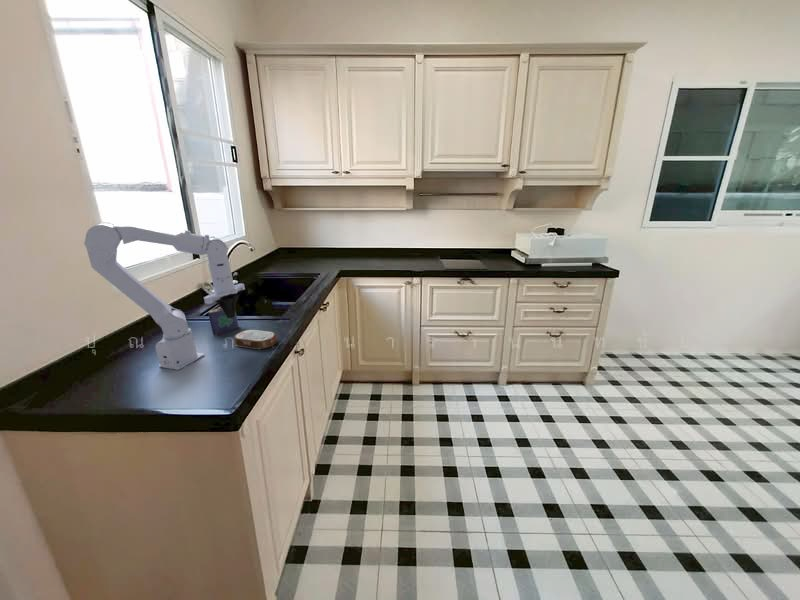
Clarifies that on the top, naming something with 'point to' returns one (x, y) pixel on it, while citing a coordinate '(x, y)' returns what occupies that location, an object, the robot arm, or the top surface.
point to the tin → (255, 339)
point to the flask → (222, 322)
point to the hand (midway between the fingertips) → (231, 317)
